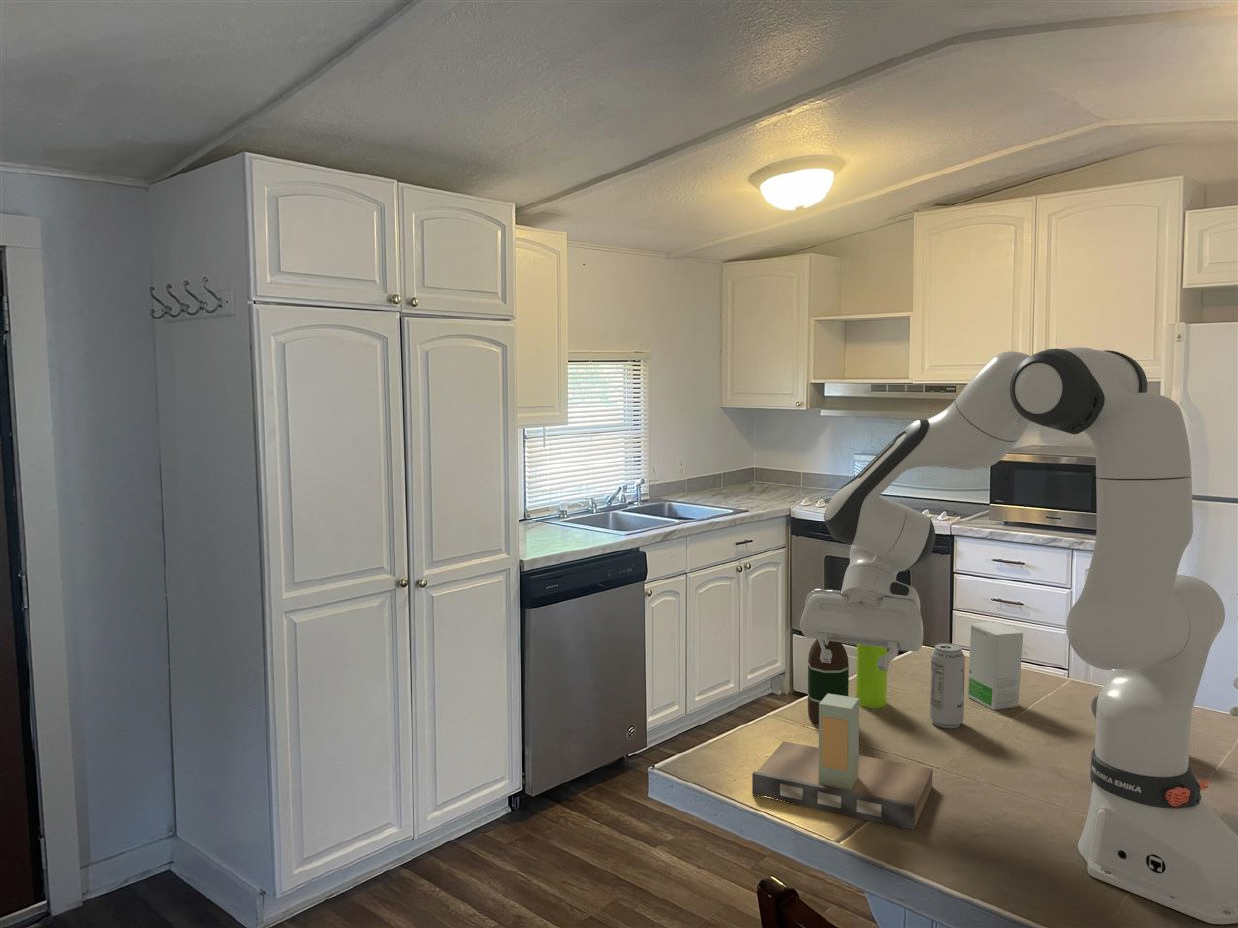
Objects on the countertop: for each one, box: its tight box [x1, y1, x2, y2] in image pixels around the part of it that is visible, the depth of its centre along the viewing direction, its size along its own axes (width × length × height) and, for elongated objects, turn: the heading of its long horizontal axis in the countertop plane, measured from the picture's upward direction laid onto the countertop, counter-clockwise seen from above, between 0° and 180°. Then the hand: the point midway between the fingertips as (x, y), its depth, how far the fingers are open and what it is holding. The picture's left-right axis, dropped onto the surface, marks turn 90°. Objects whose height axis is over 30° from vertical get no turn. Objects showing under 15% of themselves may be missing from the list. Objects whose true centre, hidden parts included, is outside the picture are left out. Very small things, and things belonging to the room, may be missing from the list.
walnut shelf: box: [751, 741, 933, 831], centre depth 146 cm, size 25×16×4 cm, turn 62°
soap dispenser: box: [855, 644, 888, 709], centre depth 184 cm, size 6×7×20 cm
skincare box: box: [966, 620, 1024, 711], centre depth 184 cm, size 8×7×16 cm
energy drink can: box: [929, 642, 966, 729], centre depth 173 cm, size 6×6×15 cm
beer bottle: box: [807, 639, 850, 726], centre depth 175 cm, size 8×8×24 cm
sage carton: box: [818, 693, 860, 790], centre depth 143 cm, size 5×5×13 cm
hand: (853, 664), depth 150 cm, fingers open, 8 cm apart
